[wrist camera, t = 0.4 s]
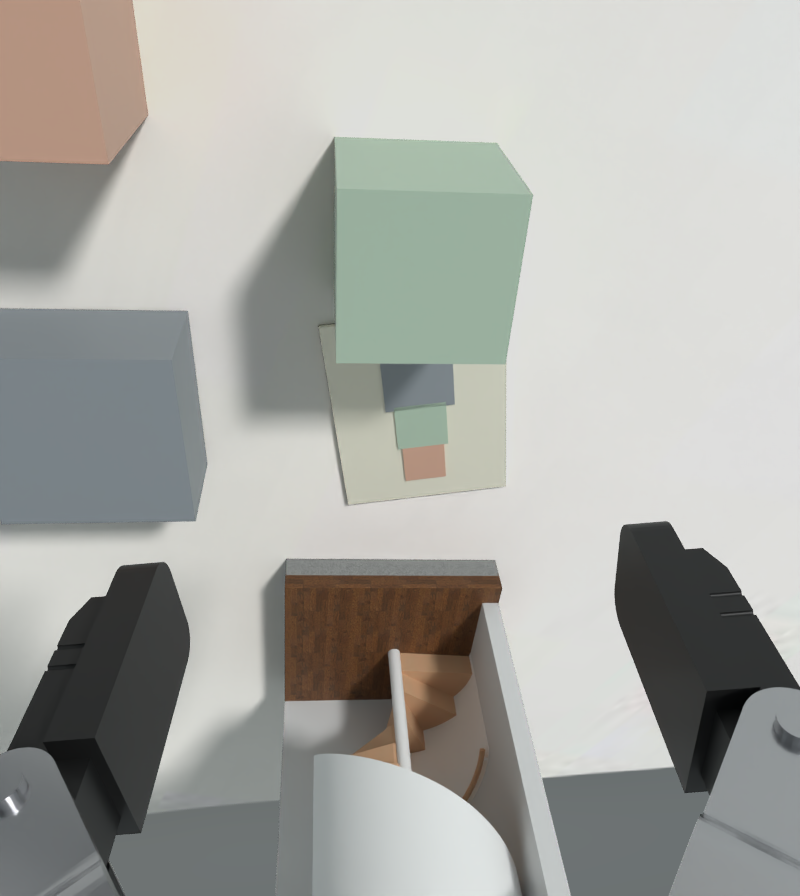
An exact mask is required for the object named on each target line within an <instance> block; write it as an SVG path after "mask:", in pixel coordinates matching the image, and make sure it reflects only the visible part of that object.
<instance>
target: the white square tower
mask: <svg viewBox="0 0 800 896" xmlns="http://www.w3.org/2000/svg"><path fill="white" fill-rule="evenodd" d="M501 591H502V586H501V582H500V578H499V574H498V570H497V566H496V562H495V560H359V559H286V576H285V709H284V729H283V750H282V771H281V792H280V813H279V834H278V854H277V855H278V856H277V875H276V896H571V895H570V891H569V886H568V882H567V878H566V874H565V870H564V866H563V862H562V858H561V854H560V850H559V846H558V842H557V838H556V834H555V830H554V826H553V822H552V818H551V814H550V810H549V806H548V802H547V798H546V794H545V790H544V785H543V781H542V777H541V773H540V769H539V765H538V761H537V757H536V753H535V749H534V745H533V741H532V737H531V733H530V729H529V725H528V721H527V717H526V713H525V709H524V704H523V700H522V696H521V692H520V688H519V684H518V680H517V676H516V672H515V668H514V664H513V660H512V656H511V652H510V648H509V644H508V640H507V636H506V632H505V628H504V624H503V620H502V616H501V611H500V607H499V599H500V595H501Z"/></svg>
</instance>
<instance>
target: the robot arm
mask: <svg viewBox="0 0 800 896" xmlns="http://www.w3.org/2000/svg"><path fill="white" fill-rule="evenodd" d="M615 606H616V612H617V617H618V621H619V624H620V627H621V629H622V632H623V634H624V637H625V640H626V642H627V645H628V647H629V650H630V653H631V655H632V658H633V660H634V663H635V666H636V668H637V671H638V673H639V676H640V679H641V681H642V684H643V686H644V689H645V692H646V694H647V697H648V699H649V702H650V704H651V707H652V710H653V712H654V715H655V717H656V720H657V723H658V725H659V728H660V730H661V733H662V736H663V738H664V741H665V743H666V746H667V749H668V751H669V754H670V756H671V759H672V762H673V764H674V767H675V769H676V772H677V774H678V777H679V779H680V782H681V785H682V787H683V790H684V792H685V793H692V792H704V791H708V793H709V795H710V797H709V800H708V803H707V805H706V808H705V810H704V812H703V814H701V815H700V816H699V818H698V820H697V823H696V825H695V828H694V830H693V833H692V835H691V838H690V841H689V843H688V846H687V848H686V851H685V854H684V856H683V859H682V862H681V864H680V867H679V870H678V872H677V875H676V878H675V880H674V883H673V886H672V888H671V891H670V893H669V896H800V687H799V685H798V683H797V682H796V680H795V678H794V677H793V675H792V674H791V672H790V670H789V669H788V667H787V665H786V664H785V662H784V660H783V659H782V657H781V655H780V654H779V652H778V650H777V649H776V647H775V646H774V644H773V642H772V641H771V639H770V637H769V636H768V634H767V632H766V631H765V629H764V627H763V626H762V624H761V622H760V621H759V619H758V618H757V616H756V615H754V614H753V609H752V608H751V606H750V604H749V603H748V601H747V599H746V598H745V596H742V594H741V589H740V588H739V586H738V585H737V583H736V581H735V580H734V578H733V576H732V575H731V573H730V571H729V570H728V568H727V567H726V566H725V565H723V564H722V563H721V562H720V561H718V560H717V559H716V558H714V557H713V556H712V555H711V554H709V553H708V552H707V551H706V550H704V549H703V548H698V549H686V550H685V549H684V547H683V545H682V543H681V541H680V540H679V538H678V536H677V534H676V532H675V531H674V529H673V527H672V526H671V524H670V523H669V522H667V521H664V522H652V523H640V524H628V525H624V526H623V527H622V529H621V533H620V542H619V552H618V561H617V571H616V581H615ZM57 646H58V649H57V650H55V651H54V653H53V656H52V658H51V660H50V662H49V664H48V671H45V672H44V675H43V677H42V679H41V681H40V683H39V685H38V687H37V689H36V691H35V694H34V696H33V698H32V700H31V702H30V704H29V706H28V708H27V710H26V713H25V715H24V717H23V719H22V721H21V723H20V725H19V727H18V729H17V732H16V734H15V736H14V738H13V740H12V742H11V744H10V746H9V748H8V750H7V752H4V753H2V754H0V896H126V895H125V892H124V890H123V888H122V886H121V884H120V882H119V880H118V878H117V876H116V873H115V871H114V869H113V867H112V865H111V863H110V861H109V856H110V853H111V849H112V846H113V842H114V839H115V836H116V835H122V834H135V833H141V831H142V827H143V824H144V820H145V816H146V813H147V809H148V805H149V802H150V798H151V794H152V791H153V787H154V783H155V780H156V776H157V772H158V768H159V765H160V761H161V757H162V754H163V750H164V746H165V743H166V739H167V735H168V732H169V728H170V724H171V720H172V717H173V713H174V709H175V706H176V702H177V698H178V695H179V691H180V687H181V684H182V680H183V676H184V673H185V669H186V665H187V661H188V657H189V650H190V633H189V627H188V622H187V619H186V616H185V613H184V610H183V607H182V604H181V601H180V598H179V595H178V592H177V589H176V586H175V583H174V580H173V577H172V574H171V571H170V569H169V567H168V565H167V564H166V563H165V562H159V563H147V564H135V565H123V566H121V567H119V569H118V570H117V572H116V574H115V576H114V578H113V581H112V583H111V585H110V587H109V590H108V592H107V594H106V596H104V597H92V598H90V599H89V600H88V602H87V603H86V604H85V605H84V606H83V607H82V608H81V609H80V610H79V611H78V612H77V613H76V614H75V615H74V616H73V617H72V618H71V619H70V620H69V622H68V624H67V626H66V628H65V630H64V632H63V634H62V637H61V639H60V641H59V643H58V645H57Z"/></svg>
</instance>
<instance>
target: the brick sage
mask: <svg viewBox="0 0 800 896" xmlns="http://www.w3.org/2000/svg"><path fill="white" fill-rule="evenodd" d="M532 198H533V194H532V192H531V191H530V190H529V188H528V187H527V185H526V184H525V182H524V181H523V180H522V178H521V177H520V175H519V174H518V172H517V171H516V170H515V168H514V167H513V165H512V164H511V163H510V161H509V160H508V158H507V157H506V155H505V154H504V153H503V151H502V150H501V148H500V147H499V145H498V144H497V143H483V142H456V141H429V140H403V139H376V138H349V137H335V171H334V303H335V341H336V363H370V364H505V363H506V357H507V351H508V345H509V339H510V333H511V327H512V320H513V314H514V308H515V302H516V296H517V290H518V284H519V278H520V271H521V265H522V259H523V253H524V247H525V241H526V235H527V229H528V222H529V216H530V210H531V204H532Z"/></svg>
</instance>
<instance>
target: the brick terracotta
mask: <svg viewBox="0 0 800 896" xmlns="http://www.w3.org/2000/svg"><path fill="white" fill-rule="evenodd" d="M147 116H148V109H147V102H146V95H145V88H144V81H143V73H142V66H141V59H140V52H139V45H138V37H137V30H136V23H135V16H134V9H133V1H132V0H0V161H18V162H49V163H79V164H110V162H111V161H112V160H113V159H114V157H115V156H116V155H117V154H118V152H119V151H120V150H121V149H122V147H123V146H124V145H125V144H126V142H127V141H128V140H129V138H130V137H131V136H132V135H133V133H134V132H135V131H136V130H137V128H138V127H139V126H140V125H141V123H142V122H143V121H144V120H145V118H146V117H147Z"/></svg>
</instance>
